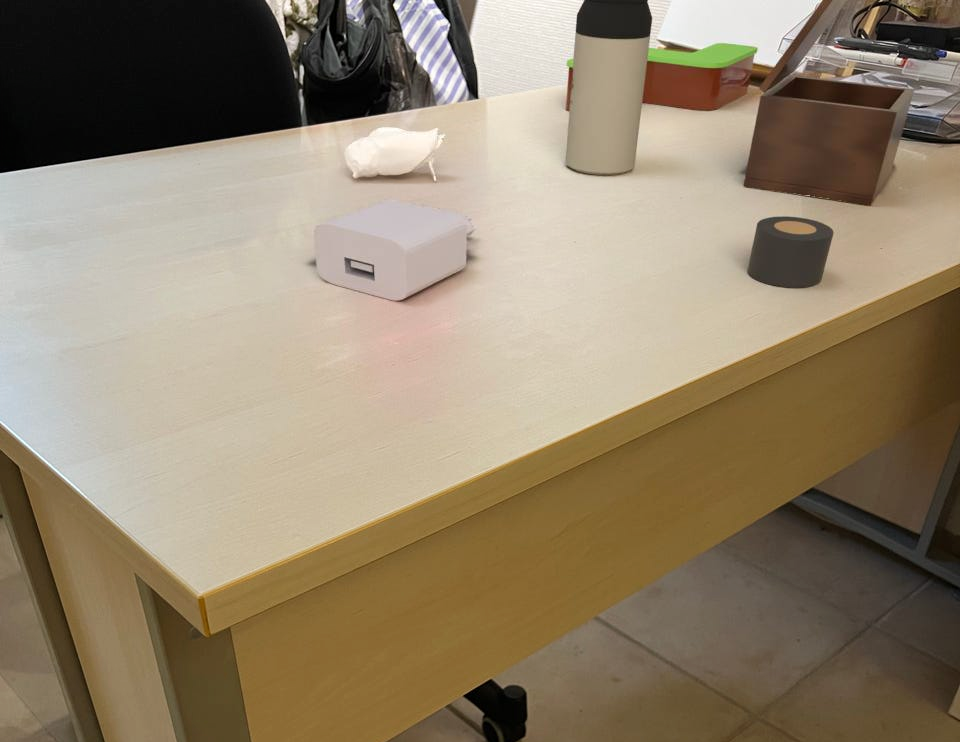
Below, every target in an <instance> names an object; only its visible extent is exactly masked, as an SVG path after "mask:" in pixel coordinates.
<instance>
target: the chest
mask: <svg viewBox="0 0 960 742" xmlns="http://www.w3.org/2000/svg"><path fill="white" fill-rule="evenodd" d="M914 92H915V88H908V87H899V86H891V85H890V86H889V85H883V84H881V85H880V84H872V83H864V82H863V83H862V82H854V81H845V80H837V79H829V78H828V79H826V78H820V77H811V76H802V75H801V76H800V75H792V74H790V75H789V76H787V77H786V78H785V79H783V80H782V81H780V82H779V83H778V84H776V85H775V86H773V87H772V88H771V89H769V90H768V91H766V92H765V93H764V92H763V94H761V95H760V97H759V102H758V107H757V113H756V119H755V124H754V129H753V134H752V139H751V143H750V144H751V145H750V149H749V154H748V158H747V159H748V160H747V165H746V169H745V174H744V180H743V187H744V186H745V188H750V187H751V189H757V188H759V189H758V190H763V189H765V190H764V191H770V190H774V191H773V192H776V191H781V192H780V193H783V192H787V193H786V194H789V193H796V194H801V195H800V196H802V195H810V196H815V197H822V198H829V199H834V200H833V201H835V200H841V201H846V202H845V203H848V202H852V203H851V204H854V203H858V204H857V205H861V204H864V205H863V206H867V205H869V207H870V206H872V205H873V204H874V201H875V200H876V198H878V195H879V194H880V192H881V190H882V189H883V188H884V186H885V185H886V183H887V181H888V179H889V178H890V176H891V173H892V169H893V166H894V162H895V159H896V156H897V153H898V148H899V145H900V141H901V138H902V135H903V132H904V127H905V124H906V120H907V117H908V114H909V110H910V106H911V103H912V100H913V96H914ZM796 194H795V195H796ZM815 197H814V198H815ZM822 198H821V199H822ZM841 201H840V202H841Z"/></svg>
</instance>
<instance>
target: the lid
mask: <svg viewBox="0 0 960 742" xmlns="http://www.w3.org/2000/svg"><path fill="white" fill-rule="evenodd" d="M847 1H848V0H821V1H820V3H819V5H818V6H817V7H816V9H815V10H814V11H813V13H812V14H811V15H810V17H809V18H808V19H807V21H806V22H805V24H804V25H803V27H802V28H801V29H800V31H799V32H798V33H797V35H796V36H795V37H794V39H793V40H792V42H791V43H790V44H789V45H788V47H787V48H786V50H785V52H784V53H783V54H782V55H781V57H780V58H779V60H778V61H777V62H776V64H774V66H773V68H772V69H771V71H770V72H769V73H768V75H767V76H766V78H765V79H764V80H763V82H762V83H761V84H760V86H758V87H759V90H761V91H762V92H763V94H764V93H766V92H767V91H768V90H770V89H771V88H772V87H774V86H775V85H777V84H778V83H779V82H781V81H782V80H784V79H785V78H786V77H788V76H789V75H792V74H793V73H794V72H795V71H796V69H797V68H798V67H799V65H800V64H801V63H802V61H803V60H804V59H805V57H806V56H807V55H808V53H809V52H810V50H811V49H812V48H813V46H814V45H815V44H816V43H817V41H818V40H819V39H820V37H822V35H823V34H824V32H825V30H826V29H827V28H828V27H829V25H830V24H831V22H832V21H833V19H834V18H836V16H837V14H838V13H839V12H840V10H841V9H842V8H843V6H844V5H845V3H846V2H847Z"/></svg>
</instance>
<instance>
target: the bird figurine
mask: <svg viewBox="0 0 960 742" xmlns="http://www.w3.org/2000/svg"><path fill="white" fill-rule="evenodd" d="M438 133H439V128H438V127H434V128H433V129H431V130H425V131H419V130H418V131H415V130H406V129H402V128H400V127H392V126H382V127H379V128H375V129H374V130H373V131H371V132H370V133H369V135H368V136H362V137H361V138H359V139H356V140H355V141H353V142H351V143H350V144H349V145H347V146H346V147H345V149H344V153H343V158H344V161H345V164H346V168H347V169H348V172H350V173H352V177H353V179H355V180H357V179H358V178H360V177H368V178H373V177H377V176H379V175H381V176H400V175H403V174H409V173H410V172H412V171H413V170H417V169H420V168H422V167H424V166H425V165H427V166H428V171H429V174H430V175H431V176H432V179H433V181H434V182H437V177H436V175H435V165H434V162H435V158H434V156H435V155H436V153H437V152H438V150H439V149H440V147H441V146H442V144H443V142H444V141H445V138H446V130H445V131H444V132H443V133H442V134H438Z"/></svg>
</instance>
